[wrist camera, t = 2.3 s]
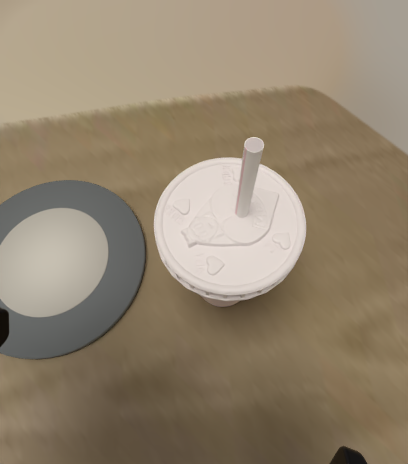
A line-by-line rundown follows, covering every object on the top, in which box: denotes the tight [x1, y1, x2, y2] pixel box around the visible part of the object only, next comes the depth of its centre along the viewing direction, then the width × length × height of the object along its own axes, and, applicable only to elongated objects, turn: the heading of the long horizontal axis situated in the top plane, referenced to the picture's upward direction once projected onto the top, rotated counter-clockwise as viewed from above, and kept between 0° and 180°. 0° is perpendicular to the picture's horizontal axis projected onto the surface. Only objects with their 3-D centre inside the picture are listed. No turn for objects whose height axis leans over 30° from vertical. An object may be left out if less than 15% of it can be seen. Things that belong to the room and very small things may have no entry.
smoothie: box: [154, 137, 306, 307], centre depth 15 cm, size 6×6×14 cm
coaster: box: [0, 180, 146, 359], centre depth 22 cm, size 13×13×1 cm
